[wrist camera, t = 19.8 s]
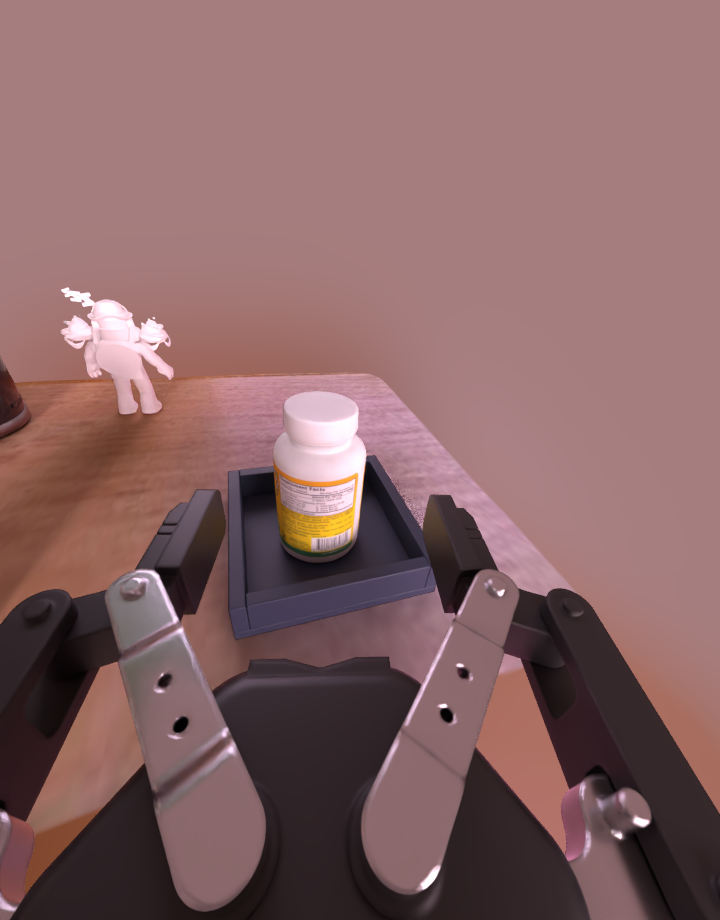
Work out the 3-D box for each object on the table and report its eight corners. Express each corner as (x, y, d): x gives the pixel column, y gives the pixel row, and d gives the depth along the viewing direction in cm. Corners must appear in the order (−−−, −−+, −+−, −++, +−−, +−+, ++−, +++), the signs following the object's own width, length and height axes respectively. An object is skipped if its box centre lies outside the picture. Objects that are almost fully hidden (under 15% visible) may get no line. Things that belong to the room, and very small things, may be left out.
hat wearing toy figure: (86, 417, 35) (33, 287, 28) (103, 401, 38) (59, 281, 32) (180, 417, 37) (151, 294, 30) (190, 402, 40) (165, 287, 33)
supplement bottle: (334, 579, 21) (342, 441, 15) (261, 546, 22) (245, 411, 17) (370, 523, 25) (386, 400, 19) (306, 499, 26) (305, 379, 21)
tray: (234, 640, 18) (228, 611, 16) (232, 497, 27) (227, 470, 25) (434, 591, 21) (443, 563, 20) (372, 479, 30) (375, 454, 29)
